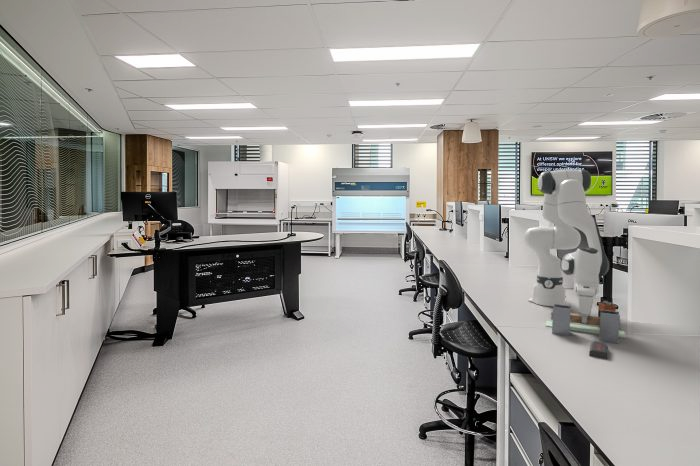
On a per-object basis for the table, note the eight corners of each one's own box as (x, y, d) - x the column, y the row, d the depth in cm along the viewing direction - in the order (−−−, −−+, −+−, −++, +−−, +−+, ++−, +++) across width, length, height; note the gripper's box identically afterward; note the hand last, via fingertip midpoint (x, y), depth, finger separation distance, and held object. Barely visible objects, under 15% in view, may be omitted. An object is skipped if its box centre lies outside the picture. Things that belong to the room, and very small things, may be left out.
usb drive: (589, 356, 140) (589, 348, 140) (590, 346, 150) (591, 339, 150) (607, 360, 137) (607, 352, 137) (607, 349, 147) (608, 341, 147)
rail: (551, 319, 174) (551, 312, 174) (551, 317, 176) (552, 310, 176) (619, 329, 162) (620, 321, 162) (619, 327, 165) (619, 319, 164)
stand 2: (598, 336, 161) (600, 309, 160) (617, 338, 158) (618, 311, 157) (599, 340, 156) (600, 313, 155) (618, 343, 153) (619, 315, 152)
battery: (603, 326, 173) (604, 303, 172) (597, 322, 180) (598, 299, 179) (614, 327, 172) (616, 304, 171) (608, 323, 179) (609, 300, 178)
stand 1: (552, 329, 169) (554, 303, 168) (569, 331, 166) (571, 305, 165) (551, 333, 164) (553, 307, 163) (569, 335, 161) (570, 309, 160)
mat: (547, 321, 180) (547, 320, 180) (624, 332, 166) (624, 331, 166) (545, 326, 173) (545, 325, 173) (625, 337, 159) (625, 336, 159)
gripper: (577, 282, 179) (576, 314, 180) (576, 291, 161) (574, 326, 162) (594, 284, 176) (593, 316, 177) (595, 293, 158) (593, 328, 159)
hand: (584, 321), depth 169 cm, fingers closed on rail, 3 cm apart
